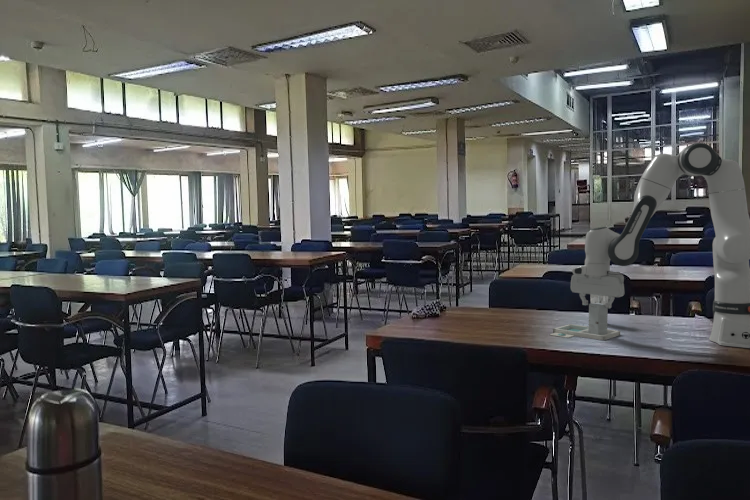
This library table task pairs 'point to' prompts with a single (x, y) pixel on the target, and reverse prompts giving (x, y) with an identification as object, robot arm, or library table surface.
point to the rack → (582, 332)
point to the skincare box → (597, 319)
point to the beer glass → (598, 299)
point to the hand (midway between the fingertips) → (596, 306)
